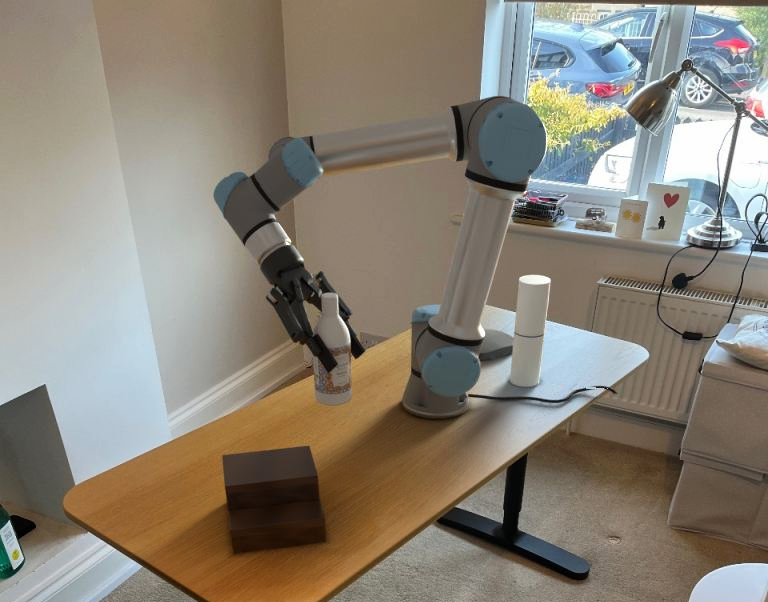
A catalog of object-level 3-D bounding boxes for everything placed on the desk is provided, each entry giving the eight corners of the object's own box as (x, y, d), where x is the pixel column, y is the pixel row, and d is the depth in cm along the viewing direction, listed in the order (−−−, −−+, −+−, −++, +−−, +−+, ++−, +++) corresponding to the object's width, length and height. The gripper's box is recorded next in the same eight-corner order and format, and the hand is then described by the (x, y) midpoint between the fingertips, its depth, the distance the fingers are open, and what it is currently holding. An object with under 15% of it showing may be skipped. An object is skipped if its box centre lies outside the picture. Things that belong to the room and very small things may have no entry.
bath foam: (326, 410, 141) (322, 304, 130) (308, 396, 146) (302, 293, 135) (358, 401, 144) (356, 296, 133) (340, 388, 149) (336, 286, 138)
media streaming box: (523, 351, 204) (524, 340, 202) (480, 363, 197) (480, 352, 196) (488, 334, 214) (488, 324, 212) (446, 345, 207) (446, 335, 206)
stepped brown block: (312, 490, 147) (309, 445, 142) (326, 541, 133) (323, 493, 128) (228, 501, 144) (222, 454, 139) (233, 554, 131) (226, 505, 125)
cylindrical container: (504, 381, 188) (512, 279, 174) (520, 372, 192) (530, 272, 178) (528, 389, 184) (539, 286, 170) (544, 380, 188) (556, 279, 174)
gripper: (303, 255, 147) (370, 355, 148) (226, 281, 134) (299, 390, 135) (322, 231, 141) (392, 335, 142) (243, 255, 128) (320, 369, 129)
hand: (347, 361), depth 139 cm, fingers closed on bath foam, 7 cm apart
